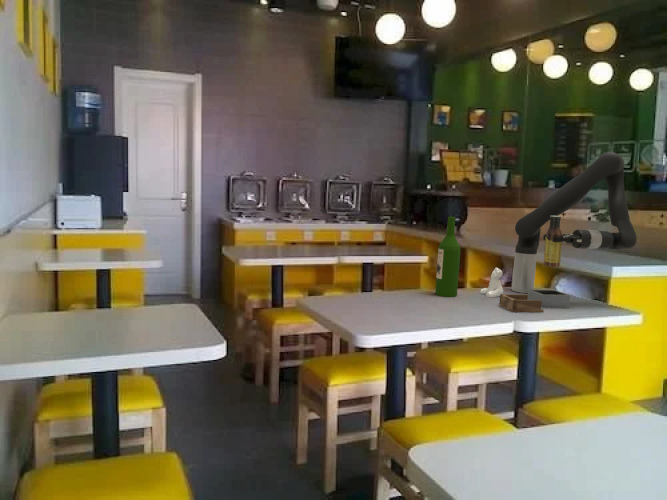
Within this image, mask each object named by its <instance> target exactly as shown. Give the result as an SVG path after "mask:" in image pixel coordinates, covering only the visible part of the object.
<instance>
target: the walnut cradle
mask: <svg viewBox="0 0 667 500" xmlns="http://www.w3.org/2000/svg"><path fill="white" fill-rule="evenodd" d="M527 299H528V294H521V293H520V294H519V293H518V294H514V293H512V294H510V293H508V294H507V293H506V294H505V293H503V294H500V297H499V303H498V305H499V307H501V308H503V309H506V310H508V311H509V312H512V313H517V312H529V313H530V312H543V313H544V309H543V308H541V304H542V301H541V300H527Z"/></svg>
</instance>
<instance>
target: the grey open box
mask: <svg viewBox="0 0 667 500" xmlns="http://www.w3.org/2000/svg"><path fill="white" fill-rule="evenodd" d="M527 295H528V299H527V300H541V301H542V304H541V307H551V308H550V309H569V308H570V303H571V295H570V294H567V293H565V292H562V291H560V290H555V289H534V290H528V293H527ZM552 307H553V308H552Z"/></svg>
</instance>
